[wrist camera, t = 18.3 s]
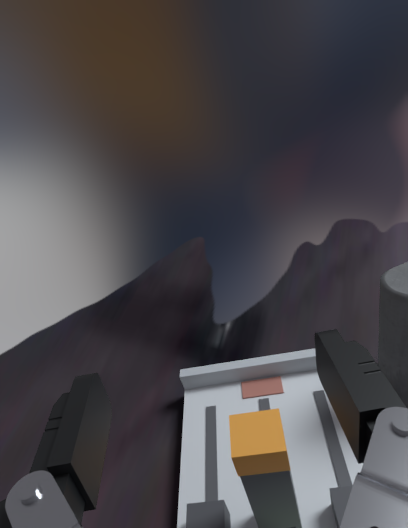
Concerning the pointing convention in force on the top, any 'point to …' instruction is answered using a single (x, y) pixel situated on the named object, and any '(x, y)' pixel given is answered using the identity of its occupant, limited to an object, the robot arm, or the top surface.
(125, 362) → the top surface
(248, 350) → the top surface
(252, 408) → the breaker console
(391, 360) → the flask
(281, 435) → the handle
